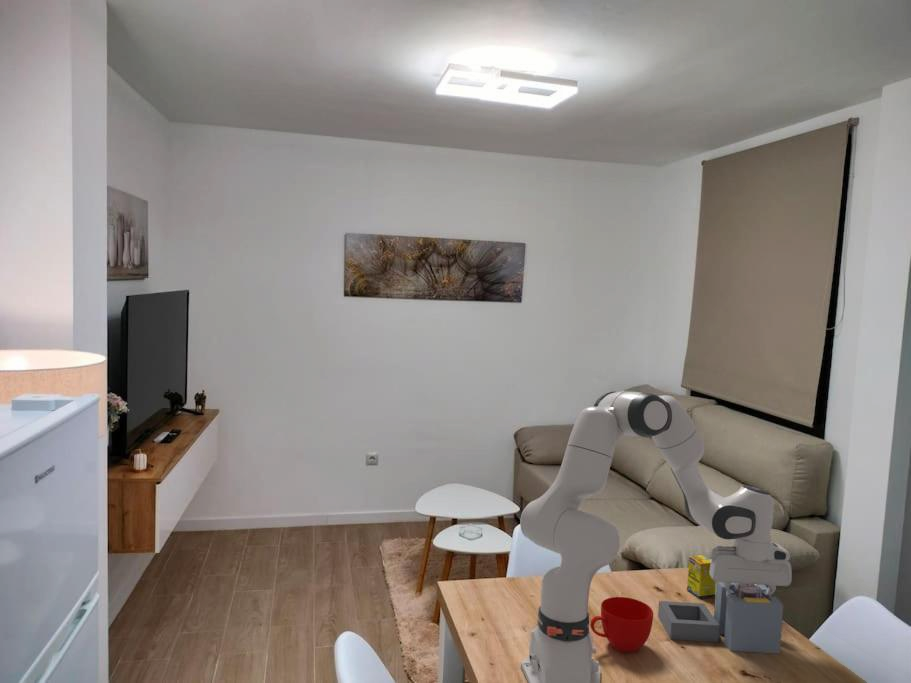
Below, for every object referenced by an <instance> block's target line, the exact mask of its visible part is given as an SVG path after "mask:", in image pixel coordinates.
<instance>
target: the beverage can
mask: <svg viewBox="0 0 911 683" xmlns="http://www.w3.org/2000/svg"><path fill="white" fill-rule="evenodd" d="M734 594H735V595H736V596H737V597H738V598H742V599H744V597H745V598H759V586H758V584H741V583H736V584H735V589H734Z"/></svg>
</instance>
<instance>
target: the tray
mask: <svg viewBox="0 0 911 683" xmlns="http://www.w3.org/2000/svg"><path fill="white" fill-rule="evenodd" d="M657 617H658V619H659V621H660V623H661V625H662V627H663V628H664V631H665V632H666V634H667V636H668V638H669V640H677V641H678V640H681V641H693V642H694V641H695V642H707V643H709V642H710V643H711V642H713V643H719V642H720V641H719V640H720V639H719V638H720V634H719V628H720V625H719V624H718V622H717V621H716V620H715V618H714V614H712V613H711V611H710V610H709V608H708V607H707V606H706V605H705V603H700V602H684V601H682V602H681V601H667V600H666V601H665V600H659V601H658V611H657Z"/></svg>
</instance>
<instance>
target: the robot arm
mask: <svg viewBox="0 0 911 683" xmlns="http://www.w3.org/2000/svg"><path fill="white" fill-rule="evenodd" d="M622 435H623V436H624V437H625V436H626V437H631V438H632V437H634V438H635V437H642V438H651V440H652V441H653V443H654V444H655V446H656V448H657V450H658V452H659V453H660V455H661V456H662V458H663V459H664V460H665V462H666V463H667V465H668V467H669V469H670V470H671V472H672V474H673V476H674V478H675V480H676V482H677V484H678V486H679V489H680V490H681V494H682V495H683V500H684V508H685V512H686V515H687V517H688V518H689V519H690V520H691V522H693V523H695V524H697V525H699V526H701V527H702V528H704V529H705V530H707V531H709V532H710V533H712V534H714V535H715V536H717V537H718V538H720V539H722V540H727V541H729V540H733V546H730V545H729V546H727V545H726V546H723V545H718V546H716V547H714V548H712V550H711V552H710V559H711V565H710V571H709V574H710V576H711V578H712V579H713V580H714V581H715V582H723V585H724V587H725V589H726V597H727V594H734V592H733V591H732V590H730V589H729V587H728V586H731V583H741V584H758V585H765V586H767V588H768V589H767V591H766V592H763V593H762V594H763V596H762V598H763V599H768V596H771V597H772V595H773V594H774V593H775V591H776V590H777V586H778V587H788V586H790V585H791V583H792V578H793V577H792V575H793V574H792V572H793V571H792V564H791V562H790V561H789V560H790V559H791V554H790V553H789V551H788V550H786V549H785V547H783V546H781V545H780V544H779V543H776V542H773V541H772V534H771V528H772V527H773V523H774V522H773V521H774V502H773V497H772V495H771V493H770V492H768V491H766V489H763V488H761V487H760V488H759V487H757V486H753V485H750V484H749V485H747V484H745V485H740V486H741V487H740V488H739V489H738V490H737V491H735V492H734V493H732V494H730V495H728V496H726V497H725V496H723V495H720V494H719V493H717V492H716V491H715V490H713V489H712V488H709V487H708V486H707V484H706V483H705V482H704V481H705V480H704V479H703V478H702V475H701V473H700V472H699V469H698V468H697V466H696V464H697V463H698V462H700V460H701V459H702V457H703V456H704V454H705V450H706V446H705V443H704V440H703V437H702V435H701V433H700V431H699V429H698V427H697V426H696V424H695V422H694V420H693V419H692V418H691V416H690V415H689V413H688V412H687V410H686V409H685V408H684V407H683V405H682V404H681V403H680V402H679V401H678V400H677V399H676V398H675V397H673V396H671V395H666V394H665V395H664V394H663V395H657V394H654V393H652V392H641V391H640V392H639V391H633V390H622V391H610V392H606V393H604V394H603V395H601V396H600V397H598V398H597V399H596V401H595V402H594V404H593V406H588V407H585V408H583V409H582V411H580V413H579V414H578V417H577V419H576V421H575V422H574V425H573V428H572V429H571V432H570V436H569V438H568V442H567V445H566V449H565V451H564V455H563V457H562V458H563V459H562V462H561V465H560V467H559V471H558V473H557V476H556V477H555V480H554V481H553V482H552V484H551V485H550V487H549V488H548V489H547V490H546V491H545V492H544V493H543V494H542V495H541V496H540V497H538V498H536V499H534V500H532V501H530V502H528V504H527V505H526V506H525V507H524V509H523V510H522V512H521V515H520V523H519V526H520V531H521V533H522V535H523V536H524V538H527V539H528V540H529V541H531V543H533V544H535V545H536V546H538V547H541V548H543V549H546V550H549V551H551V552H553V553H556V554H559V555H560V557H561V563H560V565H559V566H556V567H552V568H551V569H549V570H548V571H546V573H545V574H544V576H543V577H542V579H541V590H540V606H539V607H538V612H537V626H536V627H535V628H533V629H532V630H531V631H530V639H529V641H530V642H529V650H528V652H529V653H528V658H527V657H526V658H524V659H522V660H521V662H520V668H521V669H522V672H523V675H524V676H525V679H526V681H527V683H601V674H602V672H601V671H602V670H601V666H600V664H599V662H600V661H599V660H596V659H594V658H592V657H593V654H597V647H595V646H594V645H593V644H594V643H593V642H594V635H593V634H592V633H591V632H590V613H589V611H588V609H589V597H590V590H591V583H592V582H593V579H594V577H595V575H596V573H597V572H598V571H599V570H601V569H602V568H604V567H607V566H608V565H610V564H611V563H612V562H613V561H614V560H615V559H616V557H617V556H618V553H619V552H620V548H621V538H620V534H619V530H618V529H617V527H616V526H615V525H614V524H612V523H611V522H609V521H607V520H606V519H604V518H602V517H600V516H599V515H595V514H591V513H589V512H585V511H582V510H579V509H580V507H581V505H582V504H583V503H584V501H585V500H586V499H587V498H588V497H592V496H596V495H598V494H600V493H601V492H603V490H604V489H605V487H606V485H607V481H608V476H609V472H610V468H611V466H612V462H613V457H614V453H615V448H616V444H617V442H618V440H619V438H621V437H622Z"/></svg>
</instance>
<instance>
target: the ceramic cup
mask: <svg viewBox="0 0 911 683" xmlns="http://www.w3.org/2000/svg"><path fill="white" fill-rule="evenodd" d="M653 620H654V611H653V609H652V607H651V606H649V605H648V604H647V603H645V602H643V601H641V600H638V599H635V598H631V597H625V596H612V597H608V598H605V599H604V600H602V602H601V604H600V615H597V616H594V617H592V619H591V620H590V622H589V627H590V629H591V631H592V632H593V633H594V634H595V635H597V636H598V637H602V638H606V639H607V640H608V642H609V643H610V645H611V646H612V647H613V649H615V650H616V651H619V652H621V653H627V654H629V653H630V654H632V653H635V652H637V651H638V650H640V648H642V646H644V644H646V642H647V641H648V639H649V637H650V635H651V631H652V626H653ZM597 621H601V626H602V631H603V632H599V631H597V630H596V629H595V624H596V622H597Z"/></svg>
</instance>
